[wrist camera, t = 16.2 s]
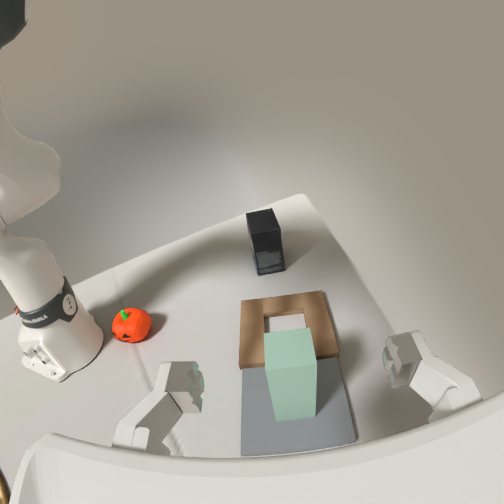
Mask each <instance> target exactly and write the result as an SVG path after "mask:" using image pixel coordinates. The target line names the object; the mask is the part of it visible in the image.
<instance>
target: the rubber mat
mask: <svg viewBox="0 0 504 504" xmlns="http://www.w3.org/2000/svg"><path fill="white" fill-rule="evenodd" d="M316 361H317V385H316V413H315V417H310V418H303V419H295V420H287V421H277V422H276V418H275V414H274V409H273V404H272V400H271V395H270V390H269V386H268V381H267V376H266V372H265V367H256V368H245V369H243V373H242V416H241V455H242V456H257V455H272V454H284V453H293V452H302V451H309V450H316V449H323V448H329V447H334V446H340V445H345V444H350V443H354V442H356V437H355V433H354V428H353V423H352V419H351V414H350V410H349V405H348V401H347V397H346V393H345V388H344V384H343V380H342V376H341V372H340V368H339V364H338V360H337V357H333V358H327V359H320V360H316Z"/></svg>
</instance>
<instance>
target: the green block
mask: <svg viewBox="0 0 504 504" xmlns="http://www.w3.org/2000/svg"><path fill="white" fill-rule="evenodd" d="M264 353H265V372H266V376H267V381H268V386H269V390H270V395H271V400H272V404H273V409H274V414H275V418H276V422H277V421H287V420H295V419H303V418H310V417H315V413H316V385H317V361H316V356H315V351H314V346H313V341H312V336H311V331H310V328H303V329H295V330H288V331H280V332H271V333H264Z"/></svg>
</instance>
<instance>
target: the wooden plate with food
mask: <svg viewBox="0 0 504 504" xmlns="http://www.w3.org/2000/svg"><path fill="white" fill-rule="evenodd" d="M9 502H10V501H9V497H8V493H7V490H6V487H5V485H4V482H3V480H2V477H1V475H0V504H9Z"/></svg>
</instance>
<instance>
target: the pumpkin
mask: <svg viewBox="0 0 504 504" xmlns="http://www.w3.org/2000/svg"><path fill="white" fill-rule="evenodd" d="M151 324H152V323H151V318H150V316H149V314H148V313H147V312H146V311H143V310H140V309H137V308H126V309H124V310H121V311H120V312H119V313H118V314H117V315H116V317H115V318H114V320H113V324H112V330H113V333H112V334H113V335H114V336H115V339H117V340H119V341H122V342H128V343H132V342H137V341H141V340H142V339H143V338H145V336H146V335H147V334H148V332H149V329H150V327H151Z"/></svg>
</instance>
